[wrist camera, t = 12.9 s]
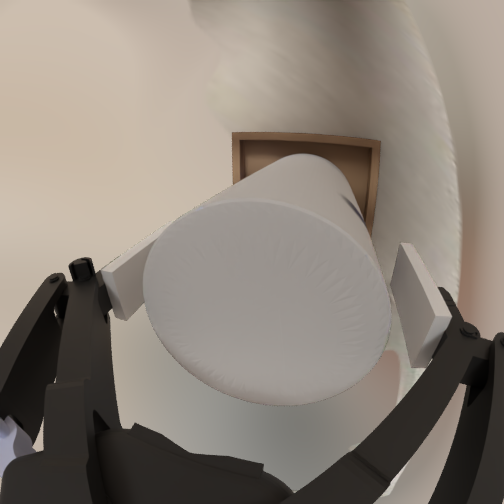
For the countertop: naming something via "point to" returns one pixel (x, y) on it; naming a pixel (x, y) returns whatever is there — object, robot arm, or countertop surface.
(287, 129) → the countertop surface
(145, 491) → the robot arm
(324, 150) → the stand
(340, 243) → the container
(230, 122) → the countertop surface
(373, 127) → the countertop surface
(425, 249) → the countertop surface
